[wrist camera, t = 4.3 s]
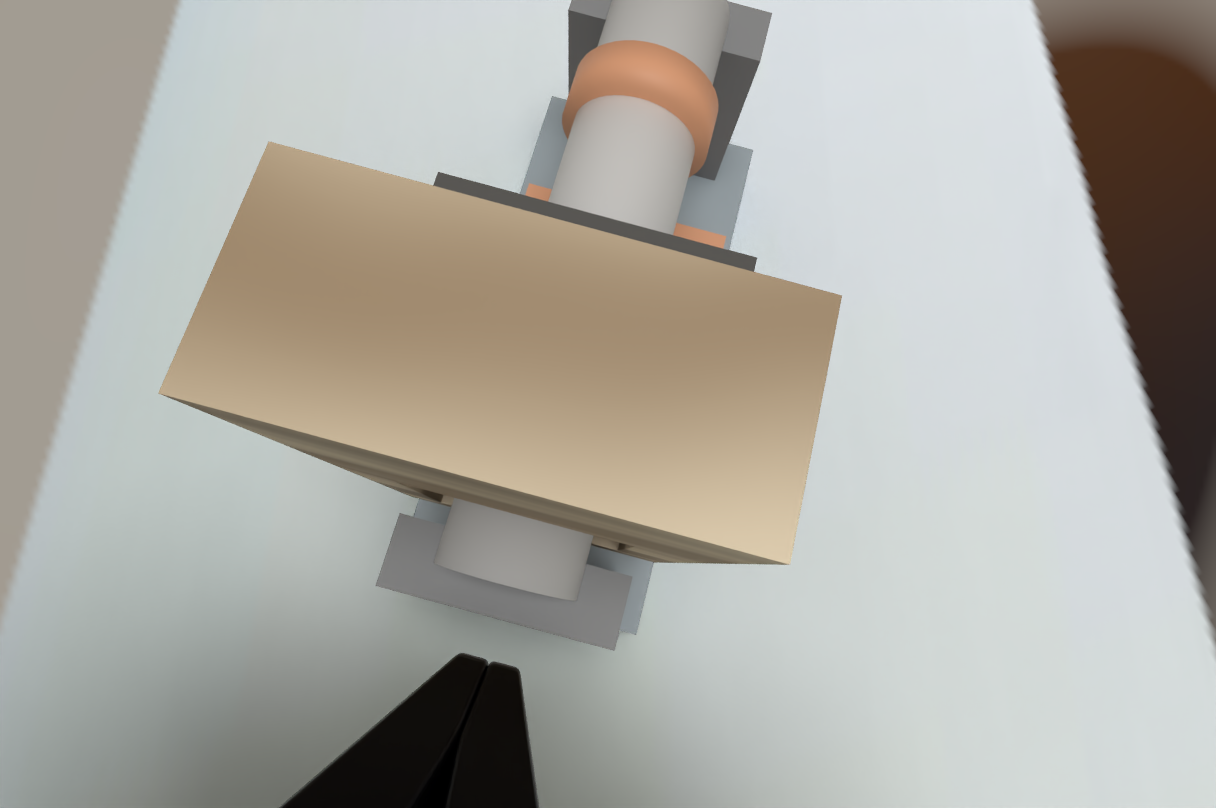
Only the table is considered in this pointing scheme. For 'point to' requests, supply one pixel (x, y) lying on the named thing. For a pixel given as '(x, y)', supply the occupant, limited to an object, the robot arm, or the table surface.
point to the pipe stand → (629, 192)
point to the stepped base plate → (595, 221)
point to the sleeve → (513, 361)
